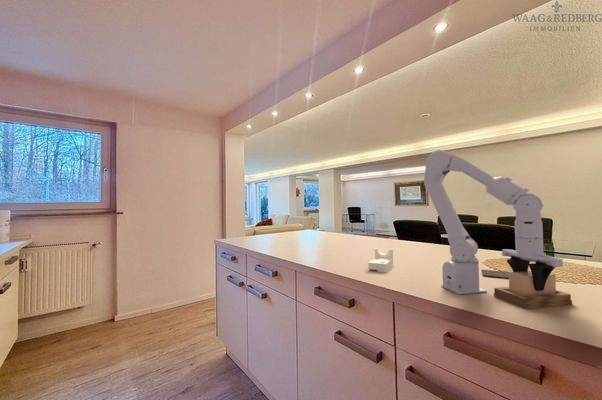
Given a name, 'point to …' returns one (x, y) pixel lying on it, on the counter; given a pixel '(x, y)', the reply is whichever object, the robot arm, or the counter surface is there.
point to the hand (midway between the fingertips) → (530, 287)
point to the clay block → (529, 284)
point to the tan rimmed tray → (533, 298)
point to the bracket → (381, 261)
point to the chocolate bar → (495, 274)
